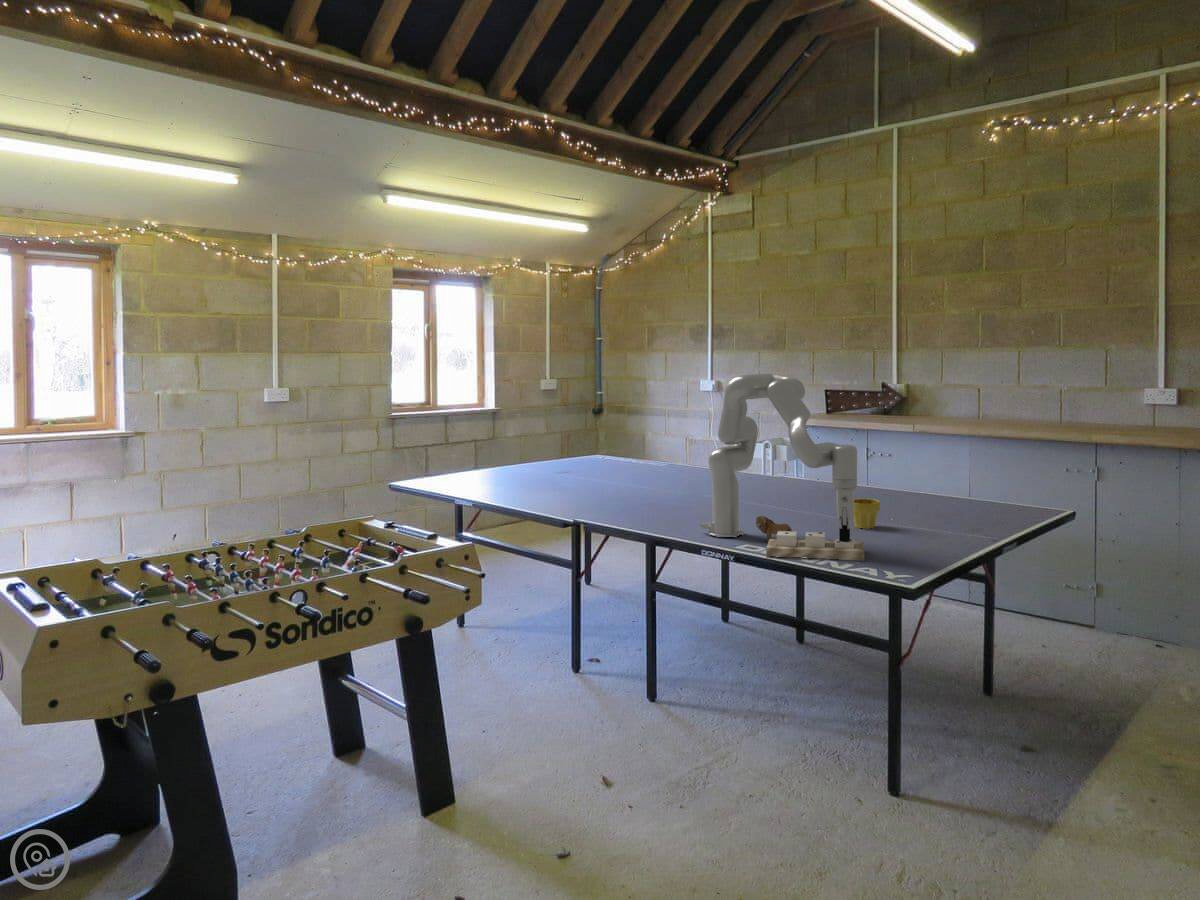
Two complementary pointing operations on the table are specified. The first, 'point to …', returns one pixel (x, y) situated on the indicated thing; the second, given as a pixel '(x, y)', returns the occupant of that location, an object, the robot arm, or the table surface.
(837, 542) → the tile three
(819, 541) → the tile two
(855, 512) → the plant pot
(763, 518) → the lion figurine
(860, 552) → the board
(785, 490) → the table surface
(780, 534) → the tile one
